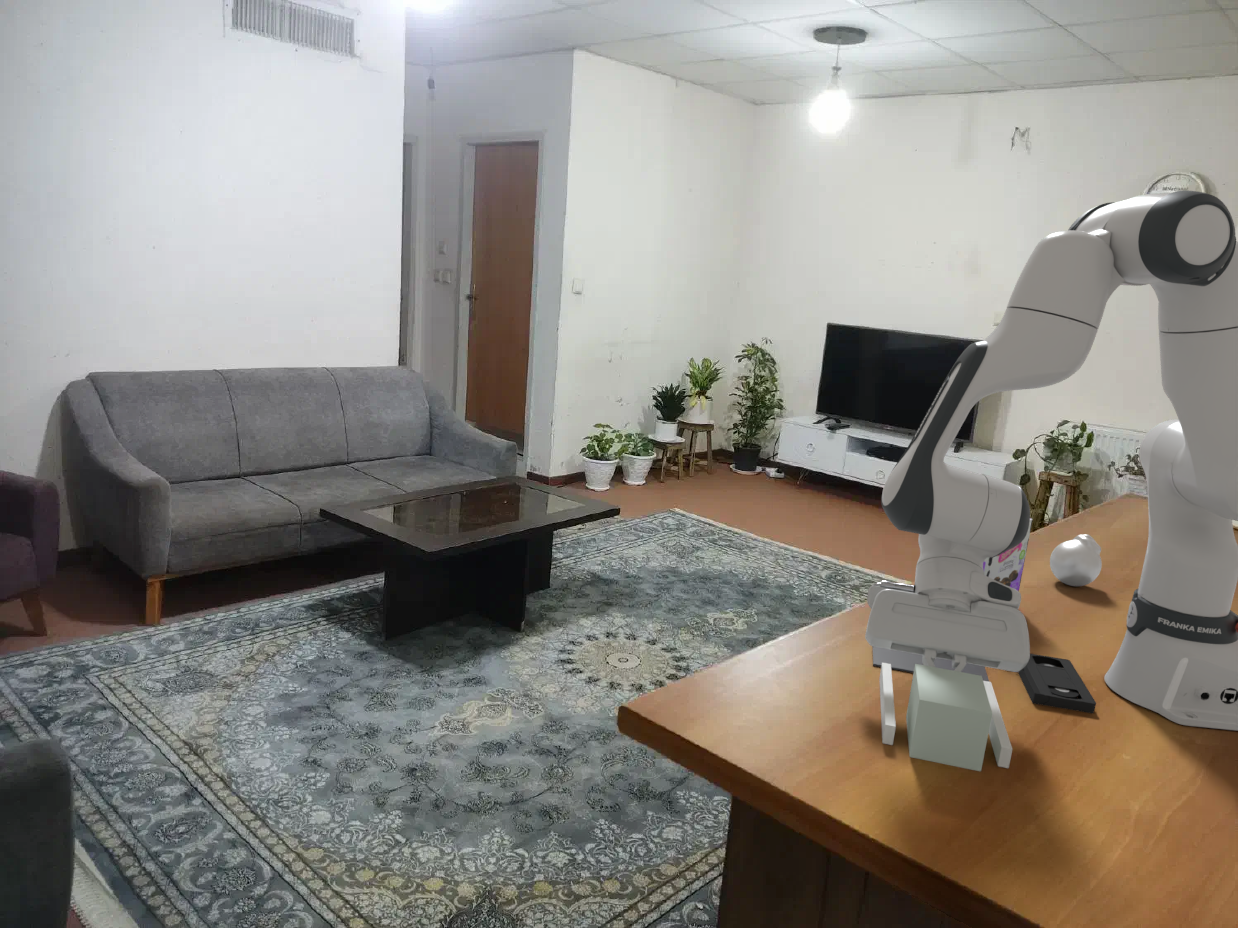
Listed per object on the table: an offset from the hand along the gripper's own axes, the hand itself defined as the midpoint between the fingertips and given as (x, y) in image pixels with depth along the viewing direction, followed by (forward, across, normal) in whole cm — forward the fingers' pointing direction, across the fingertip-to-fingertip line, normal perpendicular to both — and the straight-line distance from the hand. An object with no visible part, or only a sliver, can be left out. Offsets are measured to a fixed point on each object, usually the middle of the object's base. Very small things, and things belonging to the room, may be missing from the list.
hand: (942, 689), depth 114 cm
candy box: (-29, +11, +36) cm, 47 cm away
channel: (-1, 0, +8) cm, 8 cm away
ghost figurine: (-44, +30, +51) cm, 74 cm away
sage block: (+7, 0, -1) cm, 7 cm away
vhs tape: (-9, +17, +16) cm, 25 cm away
